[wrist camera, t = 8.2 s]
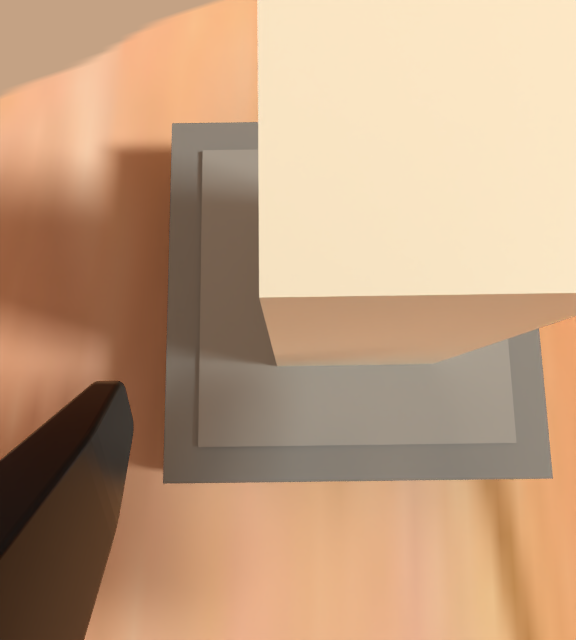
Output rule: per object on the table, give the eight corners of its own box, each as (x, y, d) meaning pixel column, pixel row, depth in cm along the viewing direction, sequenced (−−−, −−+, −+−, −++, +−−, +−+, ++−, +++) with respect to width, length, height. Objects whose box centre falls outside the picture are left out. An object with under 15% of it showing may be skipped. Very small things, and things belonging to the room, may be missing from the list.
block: (432, 363, 16) (646, 291, 6) (277, 366, 16) (258, 297, 6) (423, 216, 16) (603, -47, 7) (275, 218, 16) (257, -41, 7)
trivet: (516, 469, 18) (555, 478, 15) (180, 473, 18) (162, 484, 15) (490, 155, 20) (521, 116, 17) (187, 159, 20) (171, 120, 17)
